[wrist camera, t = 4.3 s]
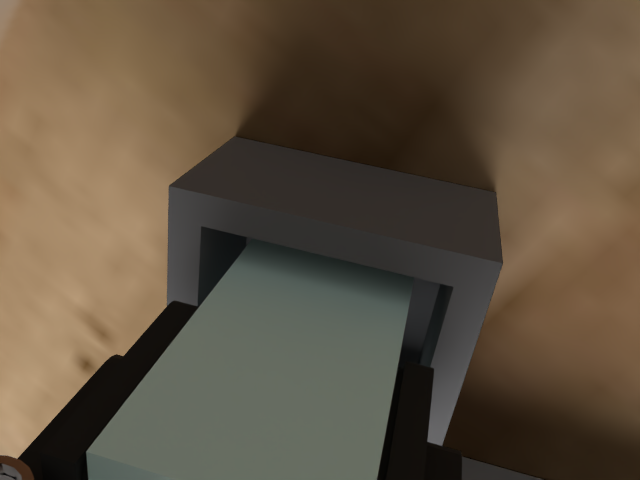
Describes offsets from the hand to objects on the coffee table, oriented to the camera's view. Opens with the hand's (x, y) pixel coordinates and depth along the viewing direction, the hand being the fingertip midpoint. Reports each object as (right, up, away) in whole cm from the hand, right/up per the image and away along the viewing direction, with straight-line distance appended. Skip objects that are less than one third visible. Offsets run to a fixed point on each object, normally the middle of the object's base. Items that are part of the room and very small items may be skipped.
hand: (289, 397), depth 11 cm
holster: (+1, +2, +4) cm, 5 cm away
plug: (+1, +2, +4) cm, 4 cm away
